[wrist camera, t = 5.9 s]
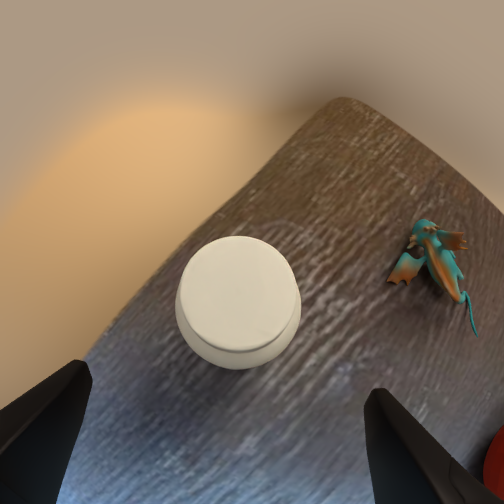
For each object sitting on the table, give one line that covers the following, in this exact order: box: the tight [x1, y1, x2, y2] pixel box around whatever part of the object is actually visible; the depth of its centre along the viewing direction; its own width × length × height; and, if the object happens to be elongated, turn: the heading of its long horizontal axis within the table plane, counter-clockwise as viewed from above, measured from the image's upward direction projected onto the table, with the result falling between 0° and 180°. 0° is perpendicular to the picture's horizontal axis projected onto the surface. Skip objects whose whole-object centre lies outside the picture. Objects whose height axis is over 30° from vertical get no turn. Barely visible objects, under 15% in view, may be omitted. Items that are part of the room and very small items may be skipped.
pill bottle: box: [175, 236, 301, 370], centre depth 15 cm, size 5×5×10 cm
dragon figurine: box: [386, 219, 478, 337], centre depth 20 cm, size 7×7×8 cm
